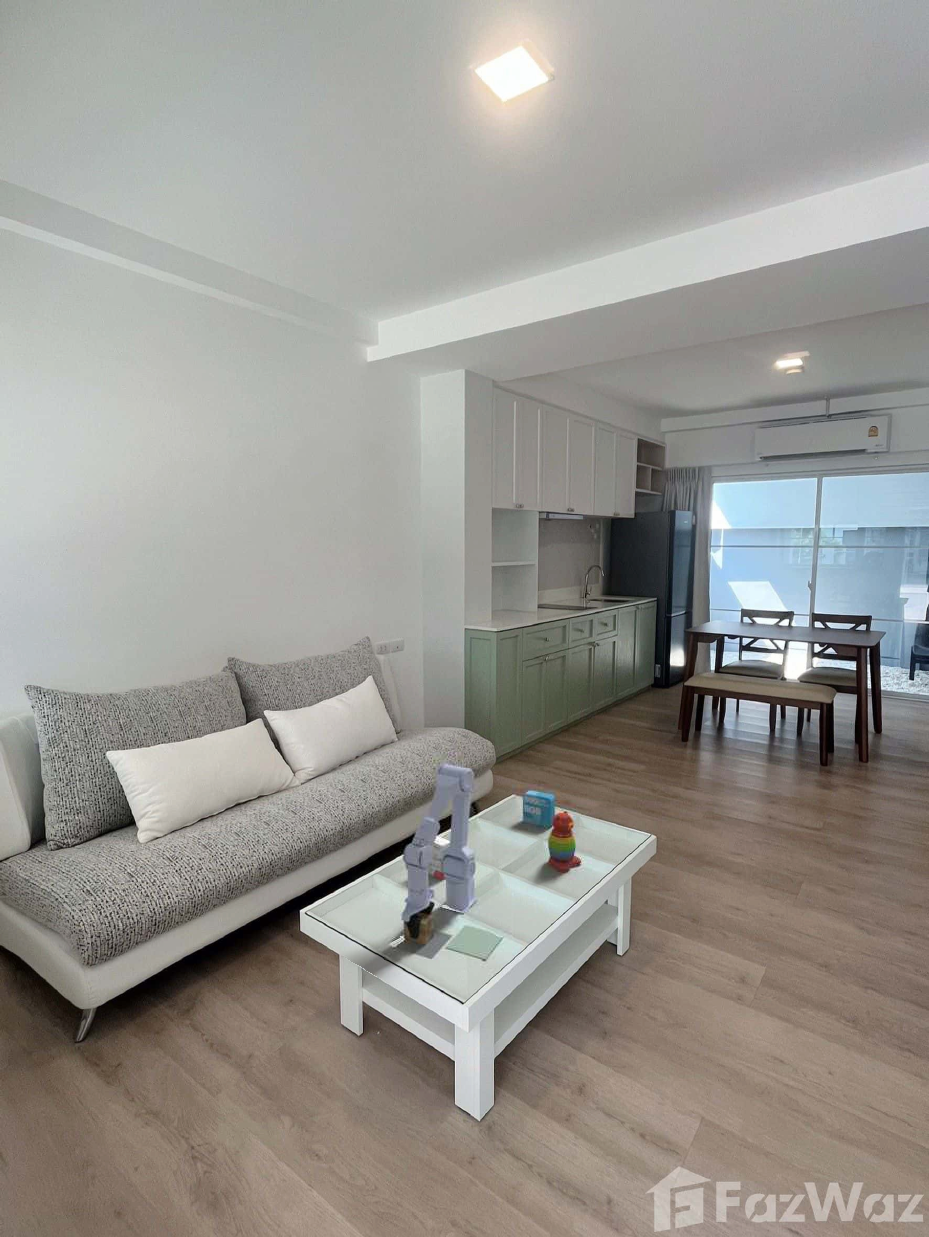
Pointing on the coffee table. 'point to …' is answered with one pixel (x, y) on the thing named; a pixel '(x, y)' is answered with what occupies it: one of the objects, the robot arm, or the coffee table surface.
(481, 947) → the mat
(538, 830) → the coffee table surface
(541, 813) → the data package
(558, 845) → the stacking bear
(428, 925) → the walnut block
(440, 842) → the ink box
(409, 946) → the grey flat rectangular plate
